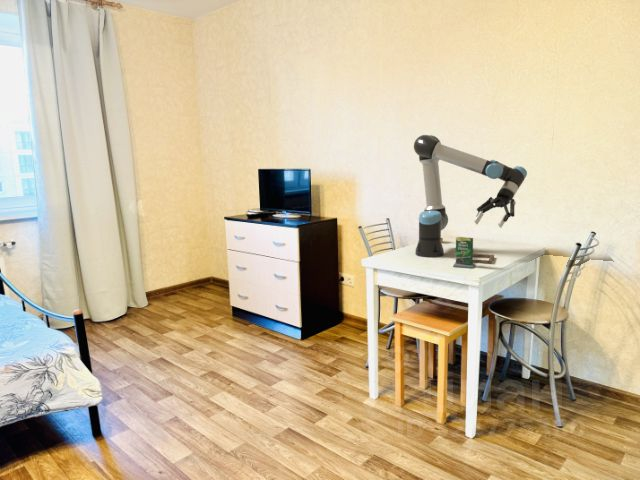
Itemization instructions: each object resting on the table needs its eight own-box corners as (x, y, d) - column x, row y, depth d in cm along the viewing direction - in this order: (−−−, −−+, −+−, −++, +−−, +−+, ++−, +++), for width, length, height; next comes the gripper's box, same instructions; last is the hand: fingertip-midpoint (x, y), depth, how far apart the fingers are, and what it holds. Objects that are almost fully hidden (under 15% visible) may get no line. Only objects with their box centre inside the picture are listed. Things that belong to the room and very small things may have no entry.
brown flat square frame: (461, 262, 223) (462, 259, 222) (465, 255, 236) (465, 253, 236) (491, 264, 217) (491, 261, 216) (493, 257, 230) (494, 254, 230)
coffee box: (454, 263, 217) (455, 237, 215) (457, 262, 219) (458, 236, 217) (470, 265, 211) (471, 238, 209) (473, 264, 213) (473, 237, 211)
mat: (453, 267, 213) (453, 265, 213) (455, 263, 221) (456, 261, 221) (472, 268, 209) (472, 266, 209) (474, 264, 217) (474, 262, 217)
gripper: (533, 199, 217) (513, 232, 212) (488, 195, 238) (469, 225, 232) (527, 188, 213) (507, 222, 208) (483, 186, 234) (463, 216, 228)
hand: (487, 224), depth 220 cm, fingers open, 13 cm apart
